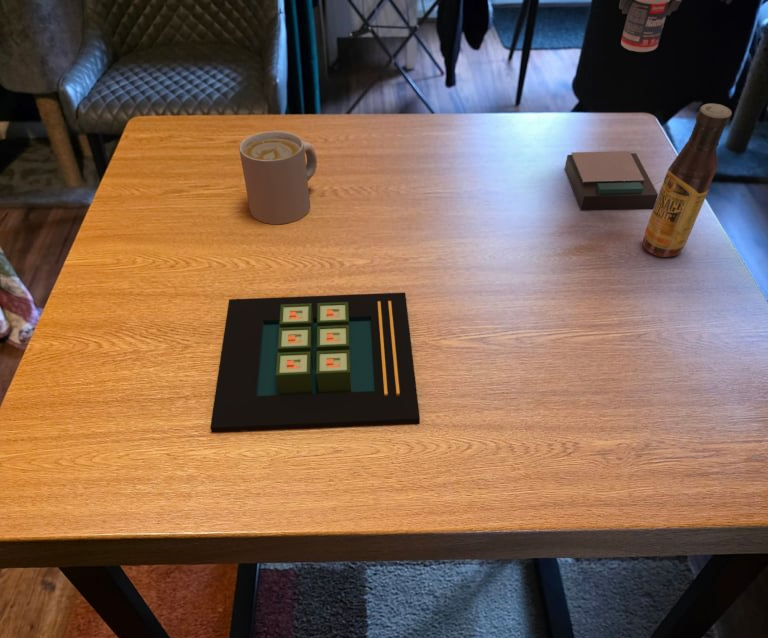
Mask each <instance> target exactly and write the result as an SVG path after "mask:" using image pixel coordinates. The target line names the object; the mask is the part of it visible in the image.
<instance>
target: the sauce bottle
mask: <svg viewBox="0 0 768 638" xmlns="http://www.w3.org/2000/svg"><path fill="white" fill-rule="evenodd" d="M732 115H733V112H732V110H731V109H730V108H729V107H727V106H725V105H723V104H719V103H706V104H703V105H701V106H700V108H699V110H698V112H697V114H696V117H695V124H694V127H693V129H692V131H691V134H690V136H689V138H688V140H687V142H686V143H685V144H684V146H683V147H682V149H681V150H680V151H679V153H678V155H677V156H676V157H675V159H674V160H673V162H672V163H671V165H670V166H669V167H668V169H667V171H666V174H665V177H664V179H663V182H662V185H661V187H660V190H659V193H658V196H657V199H656V202H655V205H654V208H653V209H652V211H651V215H650V218H649V219H648V223H647V225H646V228H645V230H644V235H643V239H642V244H643V248H644V250H645V251H646V252H648V253H650V254H652V255H654V256H656V257H658V258H671V257H672V258H673V257H676V256H678V255H679V254H680V253H681V252H682V251H683V249H684V247H685V246H686V244H687V242H688V239H689V237H690V236H691V233H692V230H693V228H694V225H695V223H696V220H697V219H698V216H699V214H700V211H701V209H702V207H703V204H704V202H705V200H706V198H707V195H708V194H709V191H710V188H711V185H712V183H713V179H714V177H715V176H716V172H717V170H718V168H719V162H718V161H719V160H718V157H717V156H718V155H717V149H718V146H719V145H720V140H721V137H722V135H723V133H724V130H725V128H726V127H727V126H728V125H729V123H730V120H731V117H732Z"/></svg>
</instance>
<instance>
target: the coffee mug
mask: <svg viewBox="0 0 768 638" xmlns="http://www.w3.org/2000/svg"><path fill="white" fill-rule="evenodd" d="M238 150H239V156H240V161H241V166H242V171H243V172H242V173H243V178H244V185H245V189H246V194H247V195H246V196H247V201H248V206H249V212H250V214H251V216H252V217H253V218H254V219H255V220H257V221H259V222H261V223H265V224H270V225H286V224H290V223H293V222H297V221H299V220H301V219H303V218H304V217H305V216H306V215H308V214H309V212H310V210H311V200H310V199H311V198H310V190H309V181H310V180H311V179H312V177H313V176H314V175H315V173H316V172H317V171H316V170H317V166H318V165H317V163H318V157H317V152H316V149H315V147H314V146H313V144H311V143H310V142H308V141H303V139H302V138H301V137H300V136H299V135H297V134H295V133H293V132H290V131H285V130H267V131H265V130H264V131H261V132H257V133H254V134H253V133H252V134H251V135H249V136H247V137H245V138H244V139H243V140H242V141H241V142H240V144H239V146H238Z"/></svg>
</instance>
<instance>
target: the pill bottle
mask: <svg viewBox="0 0 768 638" xmlns="http://www.w3.org/2000/svg"><path fill="white" fill-rule="evenodd" d="M669 4H670V0H633V1H632V3H631V6H630V8H629V11H628V13H627V14H626V15H627V16H626V19H625V23H624V27H623V32H622V36H621V40H620V41H621V42H620V44H621V46H622V47H623V48H624V49H626V50H628V51H633V52H637V53H646V52H652V51H654V50H656V49H657V48H658V46H659V42H660V39H661V36H662V33H663V29H664V25H665V21H666V18H667V16H668V15H667V11H668V8H669Z"/></svg>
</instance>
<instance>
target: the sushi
mask: <svg viewBox="0 0 768 638" xmlns="http://www.w3.org/2000/svg"><path fill="white" fill-rule="evenodd" d="M224 325H225V326H224V331H223V338H222V345H221V352H220V357H219V358H220V359H219V366H218V371H217V379H216V387H215V394H214V400H213V407H212V412H211V413H212V414H211V420H210V427H209V428H210V432H211V433H212V434H213V433H214V434H215V433H234V432H235V433H237V432H260V431H261V432H262V431H285V430H303V429H304V430H305V429H307V430H308V429H327V428H349V427H350V428H351V427H352V428H353V427H373V426H374V427H375V426H395V425H417V424H418V425H419V424H420V423H421V422H420V421H421V417H420V416H421V415H420V408H419V400H418V399H419V397H418V391H417V382H416V373H415V364H414V356H413V348H412V347H413V346H412V340H411V330H410V321H409V313H408V304H407V295H406V292H384V293H383V292H382V293H379V292H378V293H358V294H357V293H356V294H355V293H354V294H332V295H330V294H329V295H304V296H282V297H281V296H280V297H279V296H278V297H254V298H253V297H252V298H230V299H228V304H227V311H226V317H225V324H224Z"/></svg>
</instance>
